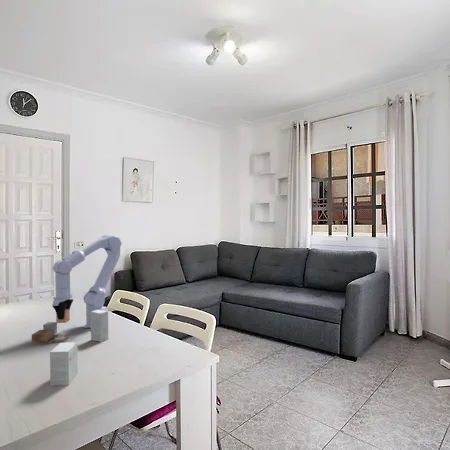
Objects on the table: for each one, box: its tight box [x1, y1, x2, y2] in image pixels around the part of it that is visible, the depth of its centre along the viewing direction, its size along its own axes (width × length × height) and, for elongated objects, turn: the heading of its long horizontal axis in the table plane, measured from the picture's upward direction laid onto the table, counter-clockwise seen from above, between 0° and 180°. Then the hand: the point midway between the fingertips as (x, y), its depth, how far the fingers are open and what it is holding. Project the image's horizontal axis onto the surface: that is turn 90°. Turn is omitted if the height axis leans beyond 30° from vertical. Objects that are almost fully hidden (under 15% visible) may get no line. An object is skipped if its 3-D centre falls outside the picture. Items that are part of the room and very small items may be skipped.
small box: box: [49, 341, 79, 387], centre depth 105 cm, size 8×6×10 cm
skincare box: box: [90, 310, 109, 343], centre depth 140 cm, size 6×4×12 cm
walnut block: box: [31, 329, 55, 345], centre depth 138 cm, size 6×6×4 cm
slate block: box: [42, 321, 58, 336], centre depth 146 cm, size 4×4×5 cm
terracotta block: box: [55, 309, 71, 324], centre depth 148 cm, size 4×4×5 cm
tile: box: [50, 336, 70, 343], centre depth 140 cm, size 5×5×1 cm
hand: (63, 317), depth 148 cm, fingers closed on terracotta block, 4 cm apart
